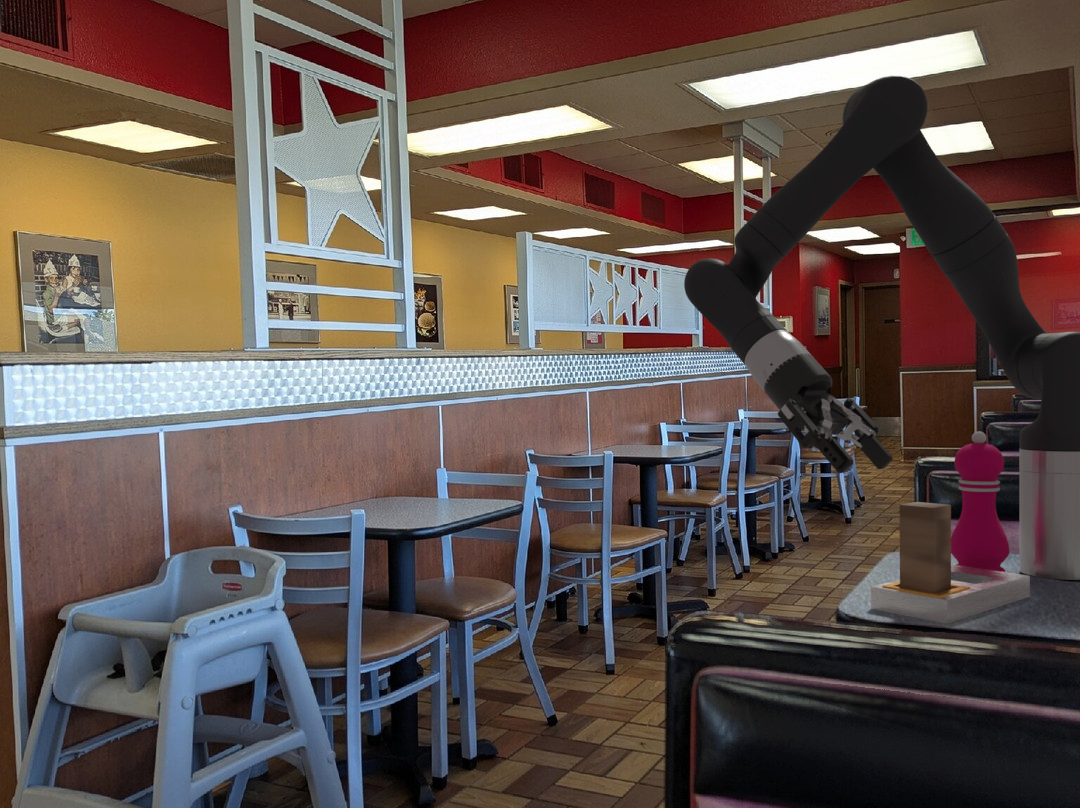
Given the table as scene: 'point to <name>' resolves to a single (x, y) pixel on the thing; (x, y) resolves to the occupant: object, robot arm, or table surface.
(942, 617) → the white socket base
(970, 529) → the pepper mill
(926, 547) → the peg
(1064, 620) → the table surface
